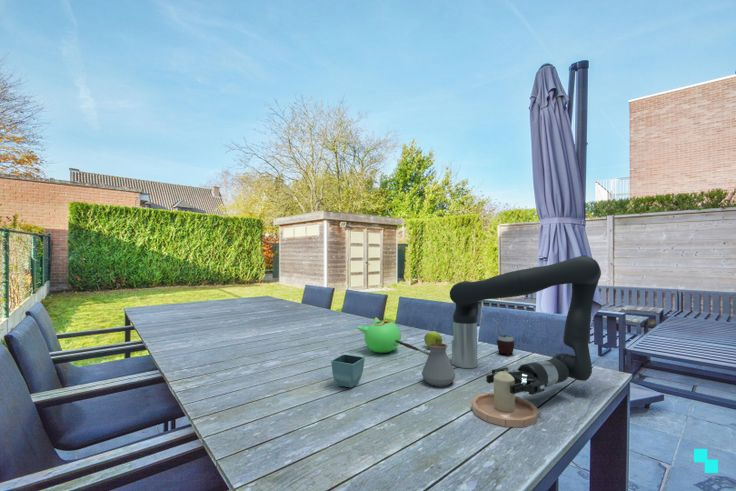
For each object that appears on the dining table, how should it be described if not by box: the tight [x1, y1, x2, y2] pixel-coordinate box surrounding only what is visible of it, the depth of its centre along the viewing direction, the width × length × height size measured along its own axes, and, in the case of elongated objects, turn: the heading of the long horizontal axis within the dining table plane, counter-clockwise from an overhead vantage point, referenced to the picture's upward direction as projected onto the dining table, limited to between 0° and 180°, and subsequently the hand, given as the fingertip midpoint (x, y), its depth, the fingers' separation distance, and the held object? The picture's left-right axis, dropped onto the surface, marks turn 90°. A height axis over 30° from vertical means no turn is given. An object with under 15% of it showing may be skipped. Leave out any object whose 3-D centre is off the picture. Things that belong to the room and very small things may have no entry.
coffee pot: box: [394, 340, 456, 387], centre depth 119 cm, size 21×12×15 cm, turn 92°
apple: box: [423, 330, 443, 348], centre depth 161 cm, size 8×9×8 cm
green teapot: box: [356, 317, 402, 354], centre depth 157 cm, size 18×17×15 cm
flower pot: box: [330, 353, 365, 388], centre depth 118 cm, size 9×9×9 cm
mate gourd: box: [492, 318, 515, 358], centre depth 151 cm, size 8×8×15 cm
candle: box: [493, 371, 516, 412], centre depth 97 cm, size 6×6×10 cm
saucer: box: [470, 392, 539, 428], centre depth 97 cm, size 17×17×2 cm
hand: (498, 384), depth 96 cm, fingers open, 8 cm apart
